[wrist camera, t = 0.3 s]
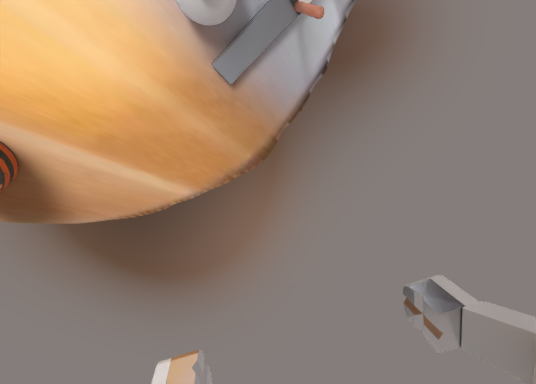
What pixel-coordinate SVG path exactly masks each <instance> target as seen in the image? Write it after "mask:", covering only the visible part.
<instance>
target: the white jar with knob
mask: <svg viewBox="0 0 536 384" xmlns="http://www.w3.org/2000/svg"><path fill="white" fill-rule="evenodd" d="M176 2H177V4H178V6H179V7H180V9H181V10H182V11H183V12H184V13H185V14H186V15H187V16H188V17H189V18H190V19H191V20H193V21H195V22H197V23H199V24H202V25H207V26H212V25H217V24H220V23H222V22H223V21H225V20H226V19H227V18H228V17H229V16H230V15H231V13H232V12H233V10H234V8H235V5H236V2H237V0H176Z"/></svg>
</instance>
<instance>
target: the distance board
mask: <svg viewBox="0 0 536 384" xmlns="http://www.w3.org/2000/svg"><path fill="white" fill-rule="evenodd" d="M311 1H312V0H269V1H268V2H267V3H266V4H265V5H264V6H263V8H262V9H261V10H260V11H259V12H258V13H257V14H256V15H255V16H254V17H253V19H252V20H251V21H250V22H249V23H248V24H247V25H246V26H245V27H244V28H243V30H242V31H241V32H240V33H239V34H238V35H237V36H236V37H235V38H234V39H233V41H232V42H231V43H230V44H229V45H228V46H227V47H226V48H225V49H224V50H223V51H222V53H221V54H220V55H219V56H218V57H217V58H216V59H215V60H214V61H213V62H212V65H213V67H214V68H215V69H216V70H217V71H218V72H219V73H220V74H221V75H222V76H223V77H224V78H225V79H226V80H227V81H228V82H229V84H230V85H231V84H232V83H233V82H234V81H235V80H236V79H237V78H238V77H239V76H240V75H241V74H242V72H243V71H244V70H245V69H246V68H247V67H248V66H249V65H250V64H251V63H252V62H253V61H254V60H255V59H256V58H257V57H258V56H259V55H260V54H261V53H262V52H263V51H264V50H265V49H266V48H267V47H268V46H269V45H270V44H271V42H272V41H273V40H274V39H275V38H276V37H277V36H278V35H279V34H280V33H281V32H282V31H283V30H284V29H285V28H286V27H287V26H288V25H289V24H290V23H291V22H292V21H293V20H294V19H295V18H296V17H297V16H298V15H300V14H301V13H303V14H306V15H309V16H311V17H314V18H317V19H320V18H322V17H323V15H324V8H323V7H321V6H317V5H313V4H309V3H310V2H311Z"/></svg>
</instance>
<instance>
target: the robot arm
mask: <svg viewBox="0 0 536 384" xmlns="http://www.w3.org/2000/svg"><path fill="white" fill-rule="evenodd" d="M403 294H404V296H405V297H406V300H405V301H404V310H405V313H406V315H407V317H408V319H409V320H410V322H411V323H412V325H413V326H414V327H415V328H417V329H419V330H421V331H423V332H424V338H425V339H426V340H427V341H428V342H429V343H430V345H431V346H432V347H433V348H434V349H435V350H436V351H437V352H438V353H443V352H446V351H449V350H453V349H456V348H459V347H461V349H463V350H465V351H467V352H469V353H471V354H472V355H474V356H476V357H478V358H480V359H482V360H484V361H485V362H487V363H489V364H491V365H493V366H494V367H496V368H498V369H500V370H502V371H504V372H506V373H507V374H509V375H511V376H513V377H515V378H517V379H519V380H520V381H523V382H525V383H526V384H536V317H533V316H530V315H527V314H524V313H520V312H517V311H514V310H511V309H507V308H504V307H501V306H498V305H494V304H491V303H488V302H485V301H481V302H478V301H477V300H476V299H474V298H473V297H472V296H470V295H469V294H467V293H466V292H465V291H463V290H462V289H461V288H459V287H458V286H456V285H455V284H454V283H452V282H451V281H450V280H448V279H447V278H445V277H444V276H442V275H437V276H433V277H430V278H427V279H424V280H421V281H418V282H415V283H411V284H408V285H405V286H404V287H403ZM151 384H212V376H211V373H210V369H209V366H208V365H207V364H205V363H204V354H203V352H202V350H197V351H193V352H190V353H186V354H183V355H179V356H176V357H173V358H170V359H166V360H162V361H159V363H158V364H157V366H156V370H155V373H154V376H153V380H152V383H151Z"/></svg>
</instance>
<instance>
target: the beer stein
mask: <svg viewBox="0 0 536 384" xmlns="http://www.w3.org/2000/svg"><path fill="white" fill-rule="evenodd" d="M17 173H18V165H17V162H16V159H15V157H14V155H13V154H12V153H11V151H10V150H9V149H8V148H7V147H6V146H5V145H3V144H2V143H1V142H0V192H1V191H3V190H4V189H5V187H7V186H8V185H9V183H10V182H11V181H12V180H13V179H14V178H15V177H16V175H17Z"/></svg>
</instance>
